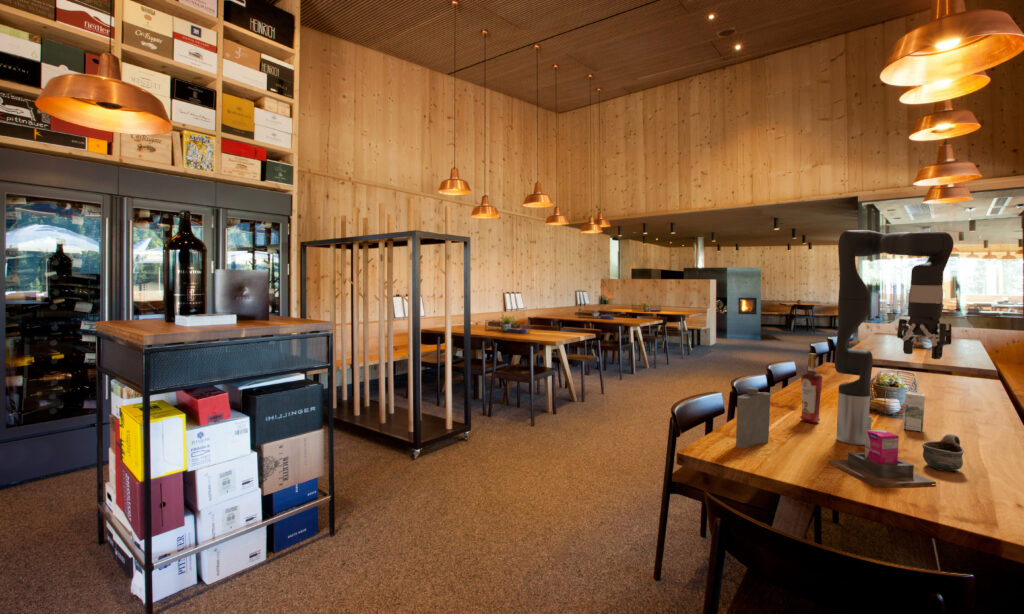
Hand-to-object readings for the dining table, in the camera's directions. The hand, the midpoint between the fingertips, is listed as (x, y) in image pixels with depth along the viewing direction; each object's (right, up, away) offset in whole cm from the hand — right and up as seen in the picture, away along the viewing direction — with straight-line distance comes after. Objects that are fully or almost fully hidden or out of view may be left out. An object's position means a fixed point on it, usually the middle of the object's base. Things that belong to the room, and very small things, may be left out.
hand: (921, 356), depth 141 cm
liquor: (+2, -33, +56) cm, 65 cm away
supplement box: (-10, -35, +3) cm, 36 cm away
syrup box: (+36, -34, +47) cm, 68 cm away
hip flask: (-35, -34, +29) cm, 57 cm away
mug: (+14, -36, +8) cm, 39 cm away
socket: (-10, -35, +3) cm, 37 cm away
